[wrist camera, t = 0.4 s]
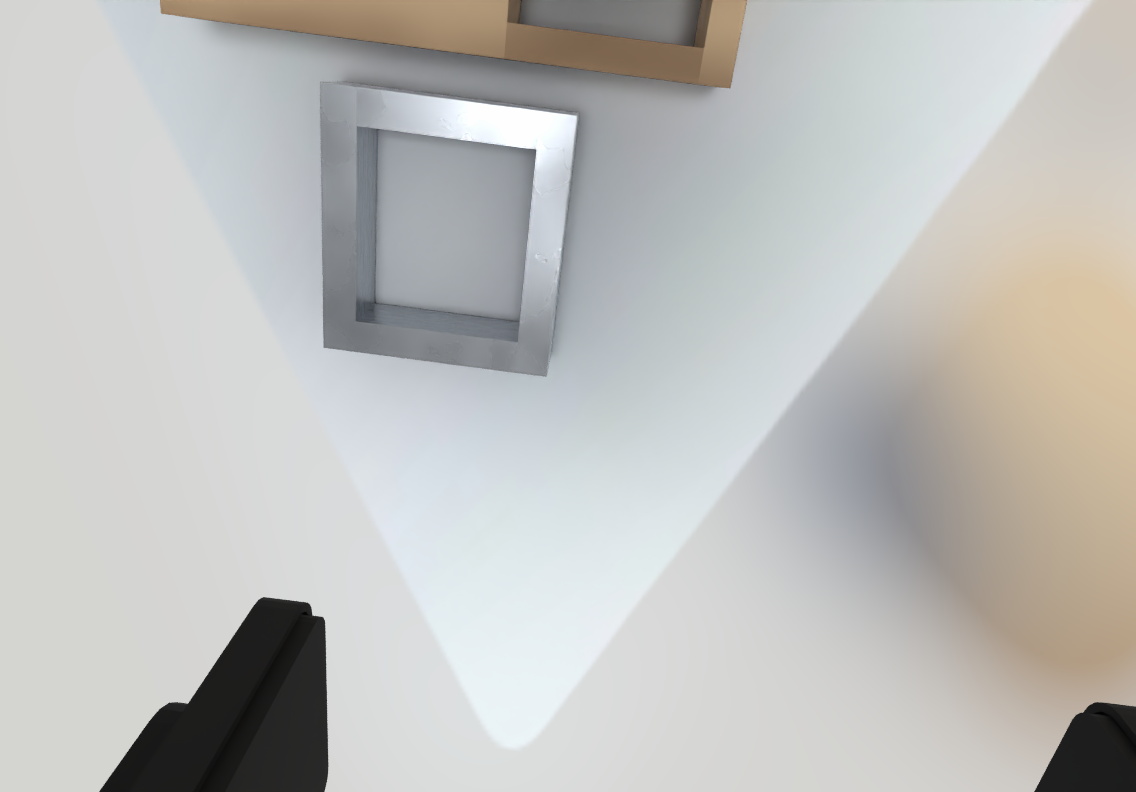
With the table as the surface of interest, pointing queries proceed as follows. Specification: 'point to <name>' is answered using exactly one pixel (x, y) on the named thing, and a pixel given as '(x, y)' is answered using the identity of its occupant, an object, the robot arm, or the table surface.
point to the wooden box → (493, 33)
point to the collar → (353, 226)
